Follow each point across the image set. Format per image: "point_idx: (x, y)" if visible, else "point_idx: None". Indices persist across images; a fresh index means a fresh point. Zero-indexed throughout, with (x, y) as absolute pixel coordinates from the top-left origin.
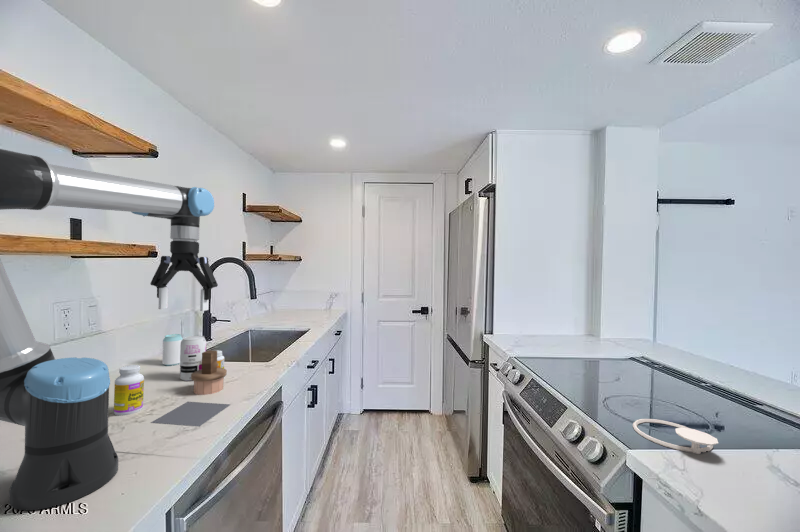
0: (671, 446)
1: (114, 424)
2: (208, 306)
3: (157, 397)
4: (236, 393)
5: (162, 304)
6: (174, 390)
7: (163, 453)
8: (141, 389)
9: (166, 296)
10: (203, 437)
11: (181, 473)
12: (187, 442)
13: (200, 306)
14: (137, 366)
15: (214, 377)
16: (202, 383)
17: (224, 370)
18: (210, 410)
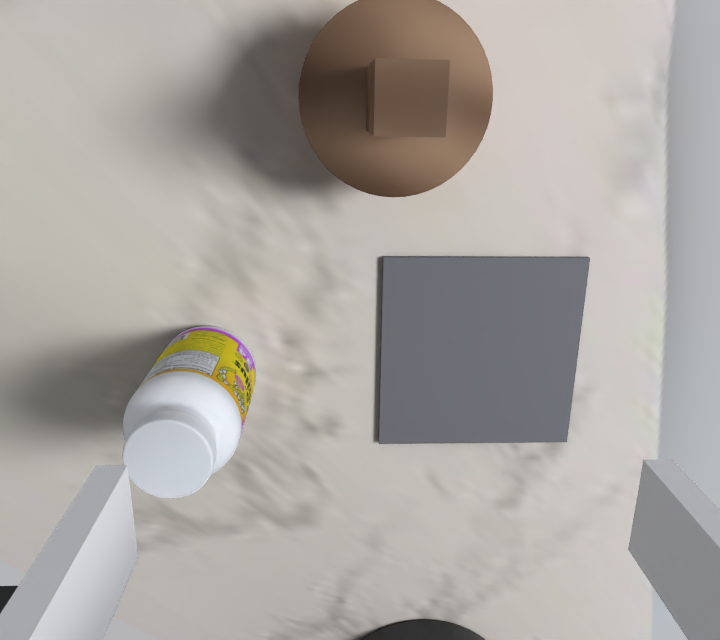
0: None
1: (257, 458)
2: (695, 484)
3: (198, 219)
4: (546, 112)
5: (118, 576)
6: (205, 120)
7: (548, 572)
8: (244, 396)
9: (73, 594)
10: (611, 488)
11: (648, 630)
12: (579, 518)
13: (654, 586)
14: (194, 444)
15: (465, 161)
16: None
17: (466, 42)
18: (535, 325)
